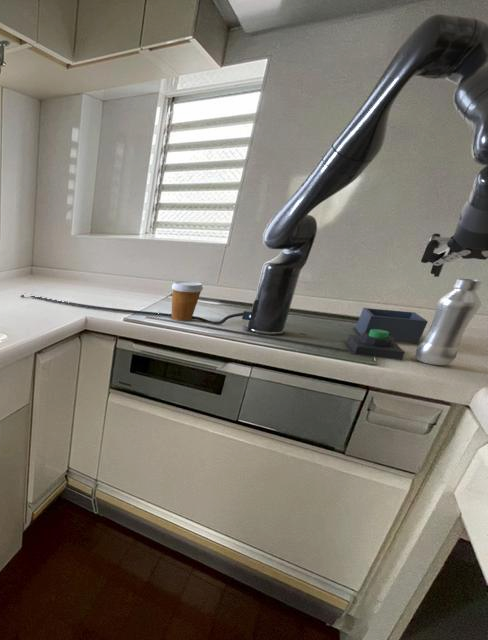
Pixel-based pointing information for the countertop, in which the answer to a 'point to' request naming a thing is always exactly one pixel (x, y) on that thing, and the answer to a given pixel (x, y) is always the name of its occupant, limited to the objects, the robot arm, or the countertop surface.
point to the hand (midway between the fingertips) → (467, 275)
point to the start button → (378, 333)
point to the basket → (393, 324)
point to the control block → (375, 346)
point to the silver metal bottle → (450, 323)
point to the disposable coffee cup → (184, 299)
